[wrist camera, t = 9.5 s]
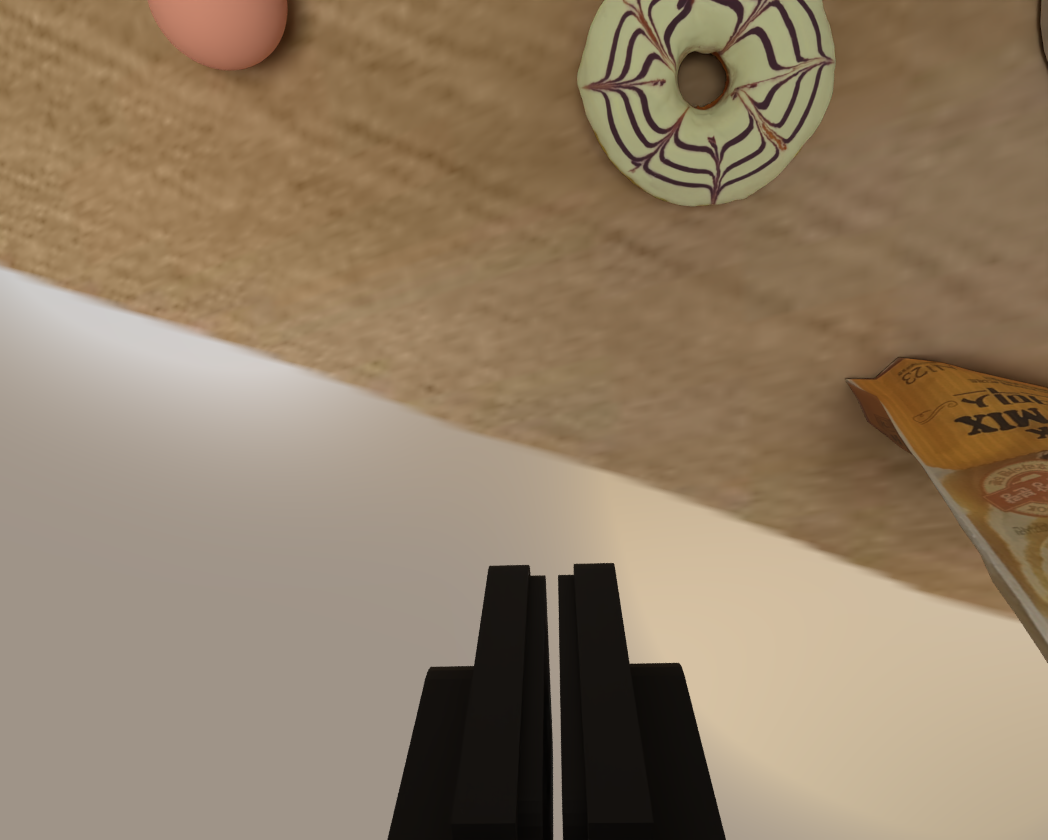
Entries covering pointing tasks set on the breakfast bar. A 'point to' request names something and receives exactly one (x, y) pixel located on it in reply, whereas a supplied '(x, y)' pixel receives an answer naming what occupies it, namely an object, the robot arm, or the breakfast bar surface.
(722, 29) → the decorated donut
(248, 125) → the breakfast bar surface
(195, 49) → the pink smooth round ball
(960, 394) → the pancake mix bag
